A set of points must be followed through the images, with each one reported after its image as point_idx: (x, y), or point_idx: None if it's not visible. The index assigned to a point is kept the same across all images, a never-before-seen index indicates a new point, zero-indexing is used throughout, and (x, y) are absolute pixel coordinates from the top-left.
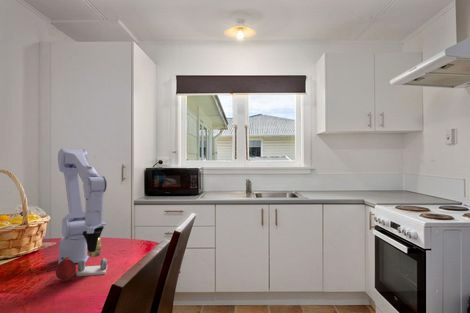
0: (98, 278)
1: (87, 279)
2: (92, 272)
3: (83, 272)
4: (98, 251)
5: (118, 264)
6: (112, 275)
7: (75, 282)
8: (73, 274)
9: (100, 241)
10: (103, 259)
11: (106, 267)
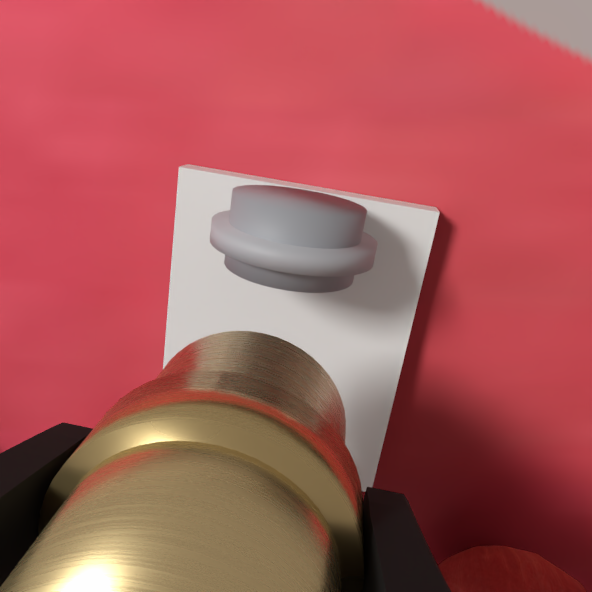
0: (548, 283)
1: (521, 389)
2: (397, 349)
3: (357, 432)
4: (319, 410)
5: (104, 10)
6: (523, 117)
7: (552, 489)
8: (551, 563)
9: (219, 514)
10: (315, 261)
11: (283, 186)
